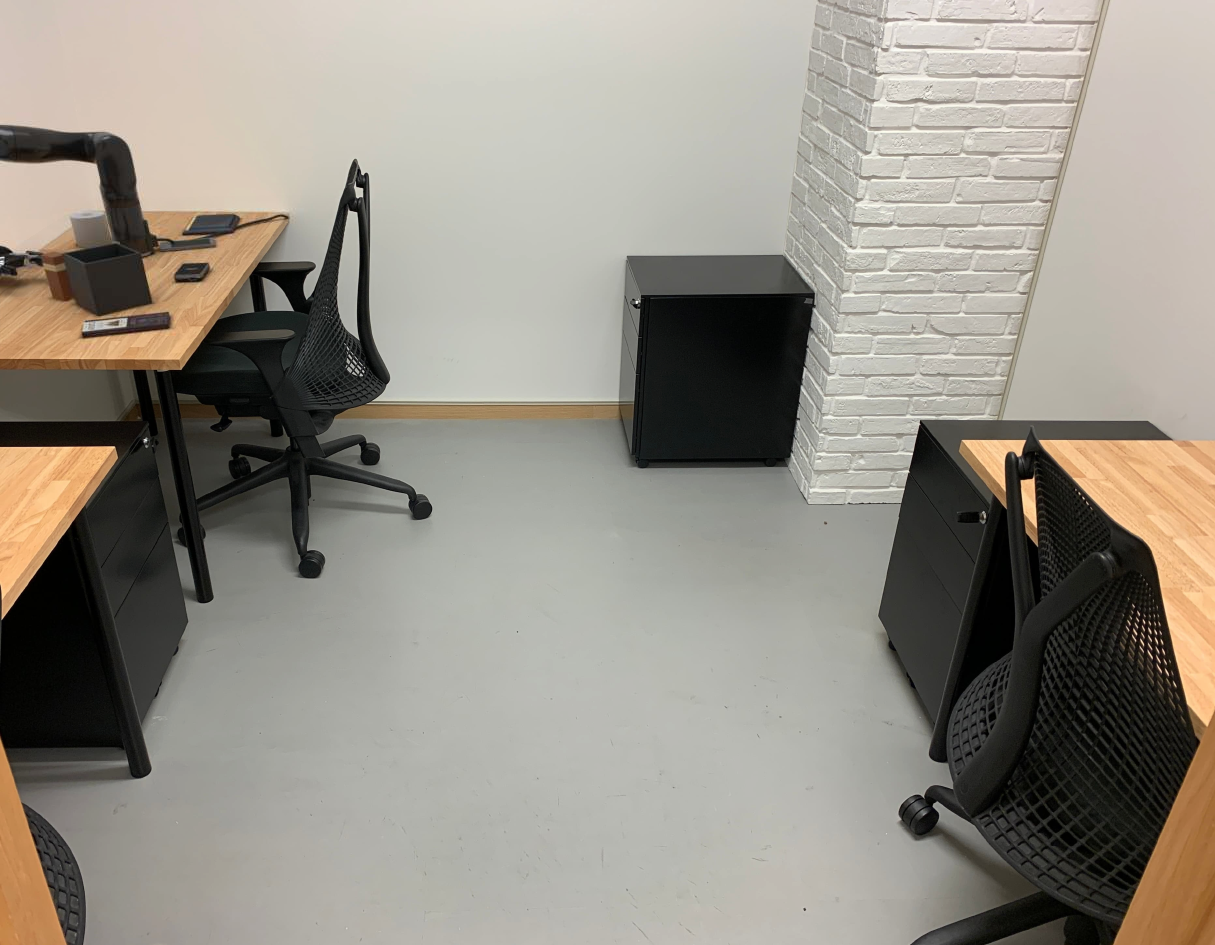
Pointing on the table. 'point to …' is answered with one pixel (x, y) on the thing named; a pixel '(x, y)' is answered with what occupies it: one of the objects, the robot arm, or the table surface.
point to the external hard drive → (191, 272)
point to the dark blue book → (211, 224)
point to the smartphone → (187, 244)
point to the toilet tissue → (90, 229)
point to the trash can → (107, 278)
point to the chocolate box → (57, 276)
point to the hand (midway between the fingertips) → (31, 267)
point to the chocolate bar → (125, 324)
